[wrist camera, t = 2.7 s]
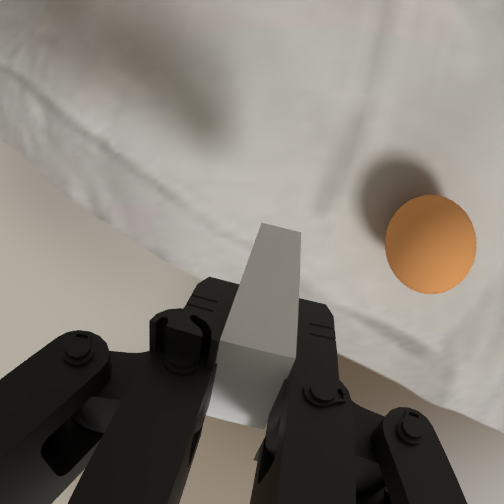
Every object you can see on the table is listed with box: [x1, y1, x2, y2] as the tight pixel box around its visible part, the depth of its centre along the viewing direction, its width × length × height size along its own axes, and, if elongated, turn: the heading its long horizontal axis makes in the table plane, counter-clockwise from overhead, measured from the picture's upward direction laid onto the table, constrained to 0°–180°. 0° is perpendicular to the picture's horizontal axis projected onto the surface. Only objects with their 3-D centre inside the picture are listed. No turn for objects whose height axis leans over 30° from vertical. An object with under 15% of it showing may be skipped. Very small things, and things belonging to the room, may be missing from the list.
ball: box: [385, 195, 476, 294], centre depth 17 cm, size 6×6×6 cm
